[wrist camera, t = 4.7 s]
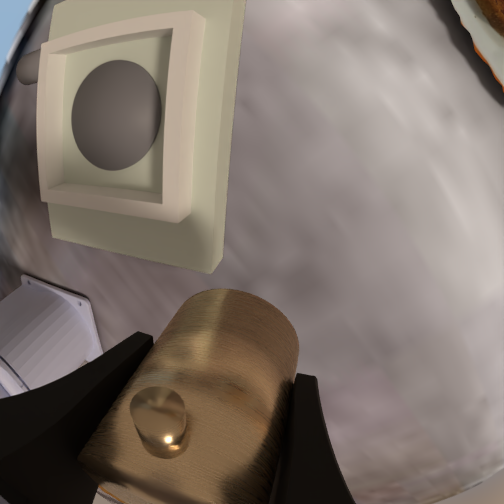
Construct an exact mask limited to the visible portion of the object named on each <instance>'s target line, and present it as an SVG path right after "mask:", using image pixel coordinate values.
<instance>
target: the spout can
mask: <svg viewBox="0 0 504 504" xmlns="http://www.w3.org/2000/svg"><path fill="white" fill-rule="evenodd" d="M298 355H299V341H298V337H297V334H296V331H295V329H294V328H293V326H292V324H291V323H290V321H289V320H288V319H287V317H286V316H285V315H284V314H283V313H282V312H281V311H280V310H278V309H277V308H276V307H275V306H273V305H272V304H270V303H269V302H267V301H266V300H264V299H262V298H260V297H258V296H255V295H252V294H250V293H247V292H243V291H239V290H233V289H211V290H207V291H203V292H200V293H197V294H195V295H194V296H192V297H190V298H189V299H188V300H186V301H185V302H184V303H183V305H182V306H181V307H180V308H179V310H178V311H177V313H176V314H175V315H174V317H173V318H172V320H171V321H170V322H169V324H168V325H167V327H166V328H165V329H164V331H163V332H162V334H161V335H160V337H159V338H158V339H157V341H156V342H155V344H154V345H153V347H152V348H151V349H150V351H149V352H148V354H147V355H146V357H145V358H144V359H143V361H142V362H141V364H140V365H139V367H138V368H137V369H136V371H135V372H134V374H133V375H132V377H131V378H130V380H129V381H128V383H127V384H126V385H125V387H124V388H123V390H122V391H121V393H120V394H119V396H118V397H117V399H116V400H115V402H114V403H113V404H112V406H111V407H110V409H109V410H108V412H107V413H106V415H105V416H104V418H103V419H102V421H101V422H100V424H99V425H98V427H97V428H96V430H95V431H94V433H93V434H92V436H91V437H90V439H89V440H88V442H87V443H86V445H85V446H84V448H83V449H82V451H81V453H80V454H79V456H78V458H77V460H78V463H79V465H80V466H81V468H82V469H83V470H84V471H85V472H86V473H87V474H88V475H89V476H90V477H91V478H92V479H93V480H94V481H95V482H96V483H98V484H99V485H100V486H101V487H103V488H104V489H105V490H107V491H108V492H110V493H111V494H113V495H114V496H116V497H117V498H119V499H121V500H122V501H124V502H126V503H127V504H269V501H270V497H271V493H272V488H273V484H274V480H275V476H276V471H277V467H278V462H279V457H280V453H281V448H282V443H283V438H284V433H285V428H286V423H287V418H288V412H289V406H290V400H291V395H292V389H293V384H294V379H295V374H296V368H297V361H298Z"/></svg>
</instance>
